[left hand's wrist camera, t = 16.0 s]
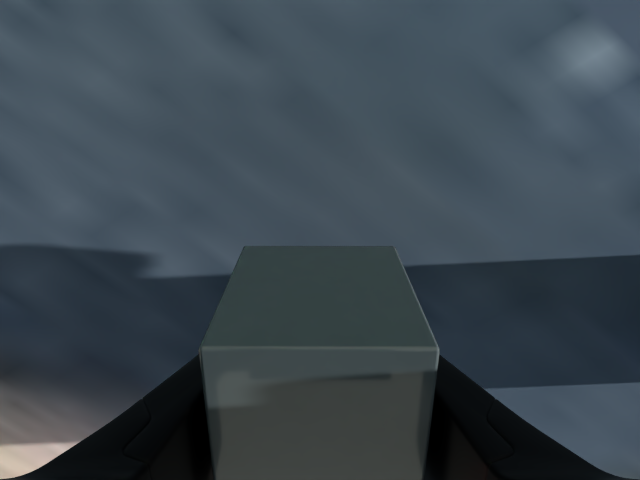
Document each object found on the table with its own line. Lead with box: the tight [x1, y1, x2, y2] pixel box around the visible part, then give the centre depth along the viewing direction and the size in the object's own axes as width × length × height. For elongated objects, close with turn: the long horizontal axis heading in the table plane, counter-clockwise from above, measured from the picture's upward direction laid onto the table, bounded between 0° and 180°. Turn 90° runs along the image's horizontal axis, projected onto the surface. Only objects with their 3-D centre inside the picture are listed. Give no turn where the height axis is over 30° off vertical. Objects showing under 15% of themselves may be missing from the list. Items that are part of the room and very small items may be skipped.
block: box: [198, 246, 440, 480], centre depth 11 cm, size 4×5×5 cm
